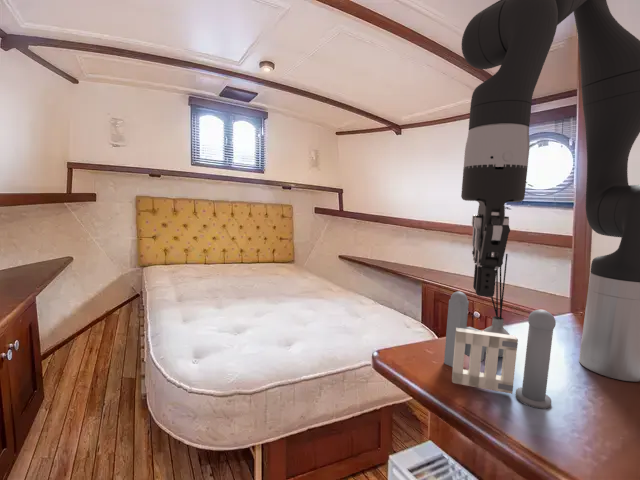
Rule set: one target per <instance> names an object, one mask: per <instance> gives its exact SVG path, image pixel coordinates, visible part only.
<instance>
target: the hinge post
mask: <svg viewBox="0 0 640 480" xmlns="http://www.w3.org/2000/svg"><path fill="white" fill-rule="evenodd" d="M527 321H528V333H527V341H526V348H525V349H526V350H525V351H526V352H525V358H524V359H525V360H524V368H523V369H524V370H523V379H522V387H518V388H516V389H515V395H514V396H515V397H516V399H517V400H518V401H519V402H521V403H522V404H525V405H526V406H529V407H532V408H534V409H542V410H545V409H549V408H551V406H552V402H553V401H552V399H551V397H550V396H549V395H548V394H546V393H547V386H548V385H547V384H548V377H549V369H550V361H551V352H552V343H553V342H552V341H553V336H554V335H553V334H554V329H555V327H556V323H557V322H556V318H555V317H554V315H553V314H552V312H550V311H547V310H546V309H535V310H533V311H531V312H530V314H529V315H528V318H527Z"/></svg>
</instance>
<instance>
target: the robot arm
mask: <svg viewBox="0 0 640 480" xmlns="http://www.w3.org/2000/svg"><path fill="white" fill-rule="evenodd" d="M572 13H573V15H574V22H575V26H576V33H577V41H578V53H579V61H580V63H579V65H580V84H581V86H580V87H581V99H582V100H581V101H582V110H583V111H582V112H583V117H584V124H585V125H584V127H585V128H584V129H585V140H586V141H585V142H586V143H585V144H586V145H585V146H586V185H585V186H586V187H585V213H586V219H587V222H588V224H589V227H590V228H591V230H593V231H594V232H595V233H597V234H599V235H601V236H607V237H614V238H621V239H620V243H619V246H618V248H617V249H616V250H615V251H614V252H611V253H609V254H605V255H600V256H596V257H594V258H593V259H592V261H591V265H590V271H589V279H588V280H589V281H588V288H587V296H586V303H585V304H586V305H585V313H584V319H583V326H582V336H581V342H580V350H579V359H578V361H579V363H580V364H581V365H582V366H583V367H584V368H586V369H587V370H590V371H591V372H594V373H596V374H599V375H601V376H605V377H607V378H611V379H614V380H619V381H623V382H640V184H630V185H629V177H628V176H629V175H628V173H629V172H628V163H629V157H630V152H631V150H632V147H633V146H634V143H635V142H636V140H637V138H638V136H639V135H640V39H639V38H637V37H636V36H635V35H633V34H632V33H631V32H630V31H628V30H627V29H626V28H625V27H624V26H622V25H621V24H620V23H619V22H618V20H617V19H616V18H615V17H614V16H613V15H612V13H611V11H610V8H609V5H608V1H607V0H497V1H496V2H494V3H493V4H491V5H489V6H487V7H486V8H484V9H483V10H481V11H480V12H478V13H476V15H474V16H473V17H472V18H471V20H469V22H468V24H467V25H466V27H465V29H464V30H463V31H464V32H463V34H462V38H461V52H462V56H463V58H464V59H465V61H466V63H468V65H470V66H471V67H473V68H475V69H477V70H488V69H489V70H490V69H493V68H496V67H499V69H498V70H497V71H496V72H495V73H494V74H493V75H492V76H490V77H489V78H488V79H486V80H485V81H483V82H482V83H480V84H479V85H477V86H476V87H475V88H474V90H473V92H472V95H471V100H470V107H469V108H470V109H469V120H468V122H469V123H468V132H467V138H466V142H465V148H464V149H465V150H464V155H463V157H464V159H463V170H462V171H463V172H462V183H461V196H460V197H461V199H462V200H463V201H468V202H469V201H470V202H471V201H472V202H477V203H478V208H477V214H472V218H471V226H472V237H471V238H472V239H471V245H472V251H471V254H472V257H473V259H472V261H473V263H474V272H473V285H472V286H473V290H474V291H475V294H476V295H477V296H478V297H486V298H491V297H492V296H493V297H494V296H495V292H496V269H498V270H499V269H500V267H501V268H502V266H503V264H504V258H505V252H506V248H507V243H508V239H509V234H510V232H511V228H510V225H509V224H510V217H509V216H508V215H507V216H506V206H505V205H506V203H520V202H523V200H524V199H525V196H526V188H527V187H526V186H527V176H528V168H529V166H528V165H529V155H530V147H531V146H530V145H531V144H530V143H531V142H530V125H531V124H530V123H531V114H532V113H531V112H532V104H533V103H532V102H533V96H534V91H535V89H536V85H537V84H538V81H539V78H540V76H541V73H542V69H543V67H544V64H545V62H546V59H547V57H548V54H549V52H550V50H551V48H552V44H553V42H554V39H555V35H556V31H557V27H558V26H559V25H560V24H561V22H563V21H565V19H567V18H568V17H569V16H570V15H571V14H572Z"/></svg>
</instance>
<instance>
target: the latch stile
mask: <svg viewBox="0 0 640 480" xmlns="http://www.w3.org/2000/svg"><path fill="white" fill-rule="evenodd" d="M469 303H470V301H469V300H468V297H467V294H466V293H464V292H462V291H460V290H459V291H458V290H457V291H455V292H453V293H452V294H451V295H450V299H449V300H448V307H447V320H446V331H445V332H446V334H445V345H444V357H443V358H444V359H443V364H444V365H447V366H449V367H450V368H453V358H454V346H455V334H456V328H463V329H470V330H478V331H482V330H481V329H477V328H474V327H472V326H468V314H469ZM470 349H471V344H465V354H464V356H468V357H470ZM485 354H486V352H485V346H482V354H481V362H482V361H484V360H485Z"/></svg>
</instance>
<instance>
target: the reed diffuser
mask: <svg viewBox="0 0 640 480" xmlns="http://www.w3.org/2000/svg"><path fill="white" fill-rule="evenodd" d="M508 256H509V255H508V253H506V254H505V261H504V262H505V263H504V272H503V281H502V266H501V267H499V268H498V269H496V281H495V296H496V297H495V300H496V301H494V296H492V297H490V298H491V302H492V306H493V310H494V313H495V315H493V316H492V322H491V325H490V326H488V327H486V328H484V330H483V331H485V332H492V333H500V334H507V335H511V334H510V332H508V330H507V329H505V328H504V320H505V319H504V317H503V316H502V315H503V314H502V312H503V305H504V294H505V284H506V283H505V282H506V273H507V265H508ZM498 272H499V273H498ZM498 276H499V277H498ZM498 284H499V285H498ZM498 290H499V291H498ZM486 350H487V347H485V353H486ZM503 352H504V349H499V352H498V357H503Z"/></svg>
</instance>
